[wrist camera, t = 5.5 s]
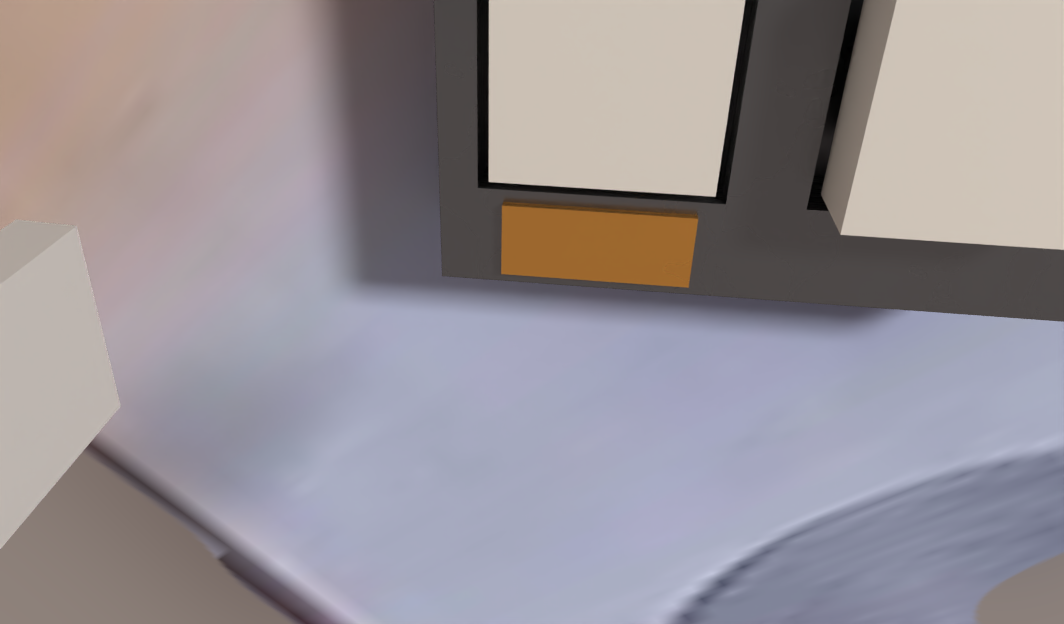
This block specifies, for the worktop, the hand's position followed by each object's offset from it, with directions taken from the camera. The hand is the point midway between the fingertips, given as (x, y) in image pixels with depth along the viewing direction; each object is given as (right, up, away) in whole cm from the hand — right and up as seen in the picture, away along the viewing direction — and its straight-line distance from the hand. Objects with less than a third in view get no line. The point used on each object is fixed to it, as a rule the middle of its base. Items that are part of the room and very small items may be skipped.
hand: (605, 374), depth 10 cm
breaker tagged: (+1, +9, +16) cm, 18 cm away
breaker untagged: (+11, +7, +13) cm, 19 cm away
